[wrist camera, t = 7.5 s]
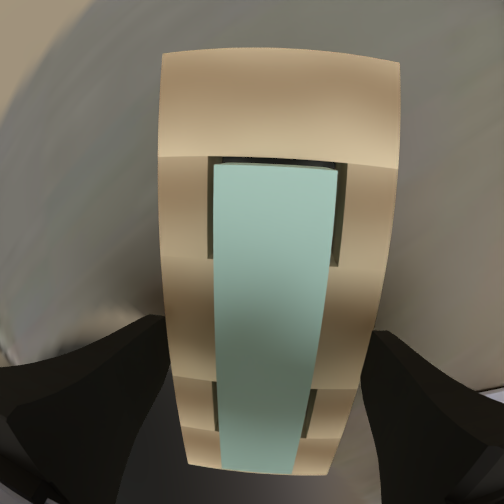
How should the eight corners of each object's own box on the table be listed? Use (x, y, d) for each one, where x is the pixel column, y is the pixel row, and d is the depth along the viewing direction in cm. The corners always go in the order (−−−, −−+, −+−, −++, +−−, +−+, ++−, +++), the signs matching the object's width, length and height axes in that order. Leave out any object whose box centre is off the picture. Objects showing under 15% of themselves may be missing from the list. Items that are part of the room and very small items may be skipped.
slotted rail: (324, 444, 17) (326, 475, 14) (197, 434, 17) (188, 463, 15) (379, 78, 11) (399, 62, 8) (184, 70, 11) (162, 53, 9)
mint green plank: (292, 400, 16) (291, 474, 11) (237, 396, 16) (221, 468, 11) (316, 164, 12) (337, 170, 7) (241, 160, 12) (214, 164, 7)
